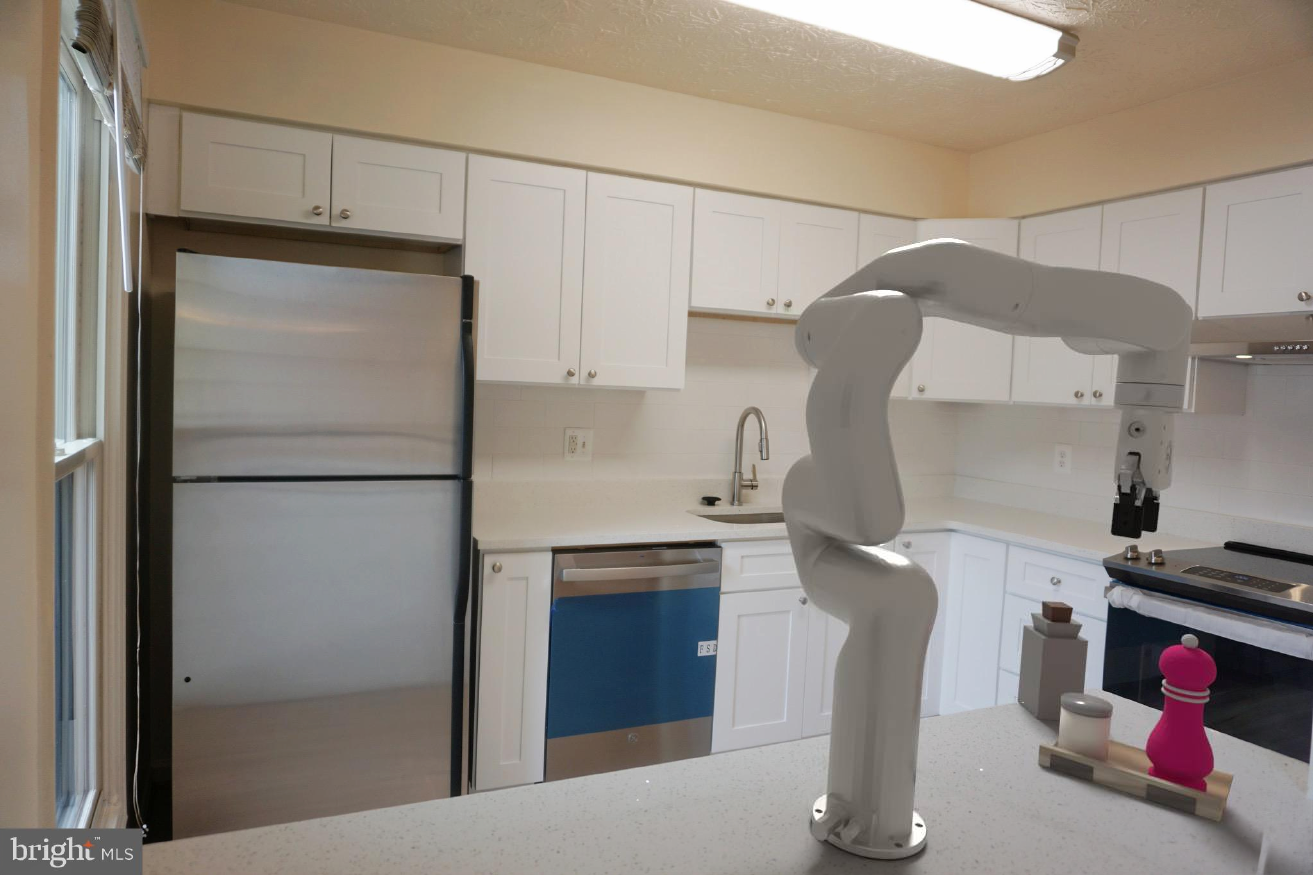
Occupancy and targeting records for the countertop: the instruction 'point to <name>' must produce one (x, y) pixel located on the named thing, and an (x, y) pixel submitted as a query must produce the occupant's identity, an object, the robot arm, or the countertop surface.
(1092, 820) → the countertop surface
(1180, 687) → the pepper mill
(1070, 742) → the jar
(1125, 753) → the shelf
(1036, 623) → the perfume bottle
